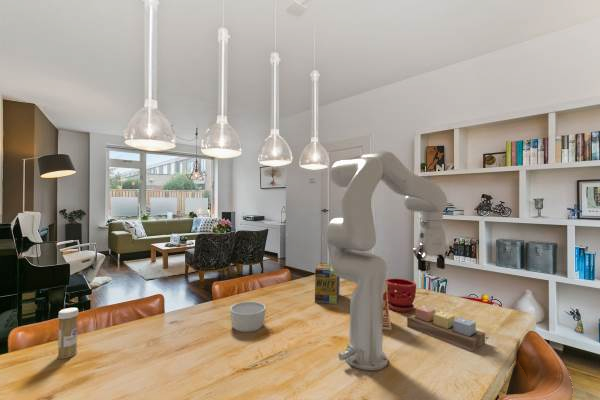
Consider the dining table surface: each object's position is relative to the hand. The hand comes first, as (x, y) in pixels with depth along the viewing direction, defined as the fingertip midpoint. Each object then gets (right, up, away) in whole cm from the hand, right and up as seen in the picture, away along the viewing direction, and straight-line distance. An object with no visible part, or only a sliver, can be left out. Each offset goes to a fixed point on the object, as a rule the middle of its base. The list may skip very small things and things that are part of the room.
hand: (431, 269), depth 111 cm
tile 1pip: (+5, -18, -13) cm, 23 cm away
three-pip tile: (-3, -18, -2) cm, 18 cm away
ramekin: (-70, -21, -3) cm, 73 cm away
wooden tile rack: (+1, -22, -7) cm, 23 cm away
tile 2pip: (+1, -18, -7) cm, 20 cm away
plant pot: (-6, -22, +18) cm, 29 cm away
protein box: (-37, -21, +30) cm, 52 cm away
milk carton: (-20, -22, +1) cm, 30 cm away
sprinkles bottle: (-119, -20, -25) cm, 124 cm away
